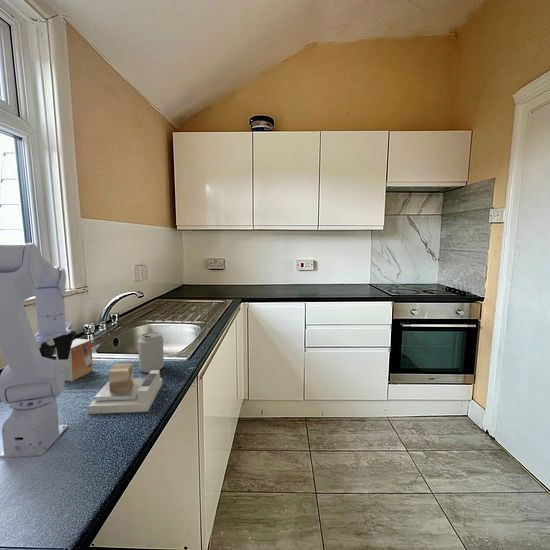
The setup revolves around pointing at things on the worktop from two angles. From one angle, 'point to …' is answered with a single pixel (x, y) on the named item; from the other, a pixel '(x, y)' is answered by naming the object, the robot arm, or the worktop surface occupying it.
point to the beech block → (121, 377)
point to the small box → (77, 360)
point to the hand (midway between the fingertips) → (55, 365)
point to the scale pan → (119, 392)
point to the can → (150, 352)
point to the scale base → (139, 404)
